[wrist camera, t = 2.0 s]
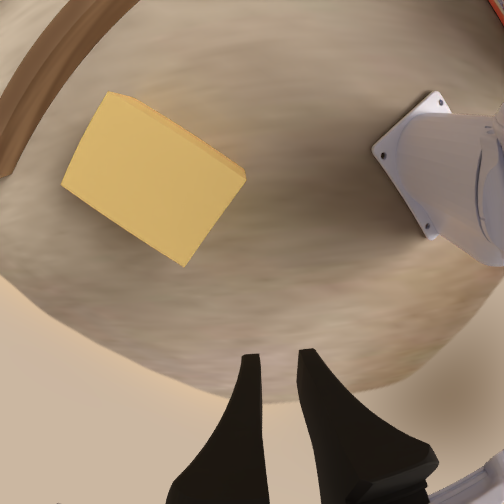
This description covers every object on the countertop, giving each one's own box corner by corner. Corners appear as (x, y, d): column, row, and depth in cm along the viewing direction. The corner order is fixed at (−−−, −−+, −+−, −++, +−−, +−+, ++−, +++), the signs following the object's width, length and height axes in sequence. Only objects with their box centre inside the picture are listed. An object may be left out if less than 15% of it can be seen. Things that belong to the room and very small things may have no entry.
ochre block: (244, 169, 19) (246, 180, 15) (194, 238, 21) (184, 267, 16) (135, 98, 16) (108, 91, 12) (92, 171, 18) (60, 184, 14)
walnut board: (218, -57, 11) (215, -86, 7) (11, 174, 17) (-20, 185, 13) (200, -67, 11) (195, -95, 7) (0, 160, 16) (-31, 169, 13)
